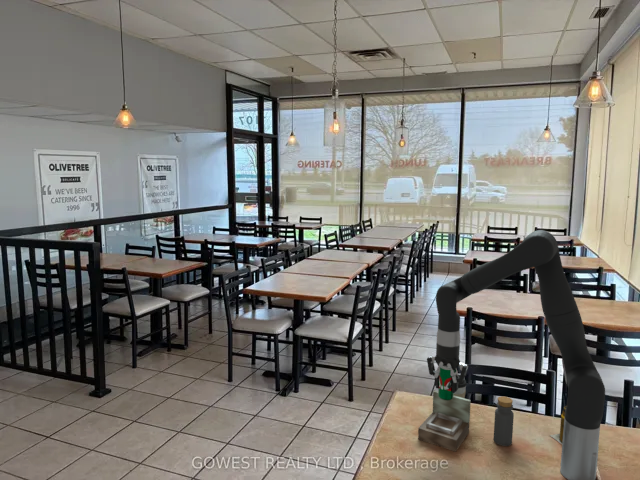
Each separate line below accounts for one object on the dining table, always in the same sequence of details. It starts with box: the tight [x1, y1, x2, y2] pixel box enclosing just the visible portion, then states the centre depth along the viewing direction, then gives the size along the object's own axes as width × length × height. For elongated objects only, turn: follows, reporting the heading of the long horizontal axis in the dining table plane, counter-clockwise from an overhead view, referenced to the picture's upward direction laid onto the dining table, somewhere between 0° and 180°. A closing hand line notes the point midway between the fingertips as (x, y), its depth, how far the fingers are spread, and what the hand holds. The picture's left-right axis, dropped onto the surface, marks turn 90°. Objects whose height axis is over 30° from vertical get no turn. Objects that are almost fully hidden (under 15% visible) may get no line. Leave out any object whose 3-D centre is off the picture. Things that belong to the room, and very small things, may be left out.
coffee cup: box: [454, 374, 468, 399], centre depth 176 cm, size 9×9×15 cm
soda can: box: [437, 365, 455, 401], centre depth 159 cm, size 5×5×12 cm
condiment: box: [549, 405, 567, 445], centre depth 159 cm, size 7×8×12 cm
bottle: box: [493, 395, 515, 447], centre depth 158 cm, size 6×6×15 cm
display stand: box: [417, 390, 472, 452], centre depth 161 cm, size 13×14×12 cm
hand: (446, 389), depth 160 cm, fingers closed on soda can, 5 cm apart
